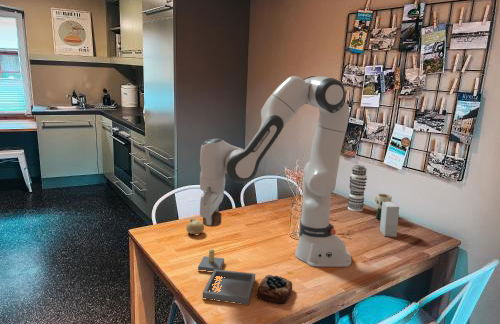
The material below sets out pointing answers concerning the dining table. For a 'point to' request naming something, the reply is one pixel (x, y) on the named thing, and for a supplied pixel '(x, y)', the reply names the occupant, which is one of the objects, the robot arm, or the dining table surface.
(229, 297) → the tray
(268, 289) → the pastry
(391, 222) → the skincare box
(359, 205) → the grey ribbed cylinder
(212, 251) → the grey peg stand
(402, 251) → the dining table surface
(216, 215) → the ring
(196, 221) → the onion
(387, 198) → the character mug
